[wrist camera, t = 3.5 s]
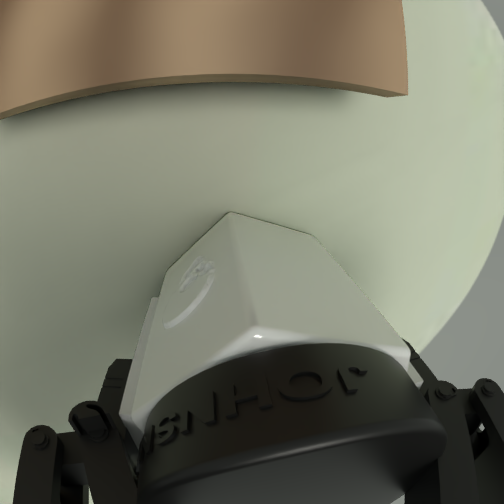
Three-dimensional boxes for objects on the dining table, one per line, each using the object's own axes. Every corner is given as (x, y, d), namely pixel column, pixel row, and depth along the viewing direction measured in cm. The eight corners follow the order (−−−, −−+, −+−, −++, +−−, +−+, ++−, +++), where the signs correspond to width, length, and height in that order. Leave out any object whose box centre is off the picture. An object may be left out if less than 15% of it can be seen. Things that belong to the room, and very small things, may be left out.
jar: (260, 175, 14) (411, 332, 3) (352, 282, 17) (477, 447, 6) (137, 293, 16) (72, 506, 5) (239, 371, 19) (267, 550, 8)
